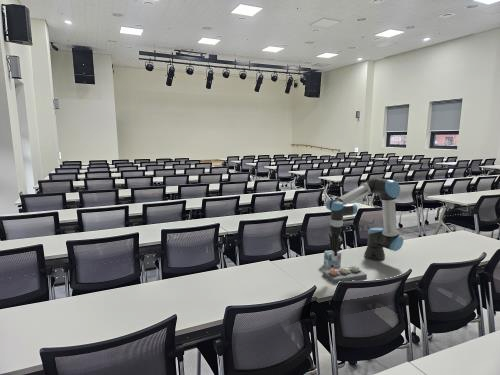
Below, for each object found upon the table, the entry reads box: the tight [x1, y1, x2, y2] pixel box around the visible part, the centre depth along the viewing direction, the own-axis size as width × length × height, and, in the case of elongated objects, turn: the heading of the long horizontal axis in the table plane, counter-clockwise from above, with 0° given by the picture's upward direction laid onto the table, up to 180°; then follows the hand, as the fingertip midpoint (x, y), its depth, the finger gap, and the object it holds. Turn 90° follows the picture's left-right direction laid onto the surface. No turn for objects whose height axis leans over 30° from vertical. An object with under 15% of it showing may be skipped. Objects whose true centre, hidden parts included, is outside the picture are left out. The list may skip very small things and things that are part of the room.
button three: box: [329, 268, 338, 276], centre depth 217 cm, size 5×5×3 cm
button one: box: [351, 264, 360, 273], centre depth 223 cm, size 5×5×3 cm
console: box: [322, 266, 368, 285], centre depth 220 cm, size 25×14×3 cm, turn 109°
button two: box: [340, 266, 349, 274], centre depth 220 cm, size 5×5×3 cm
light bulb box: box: [323, 249, 342, 269], centre depth 238 cm, size 11×7×11 cm, turn 105°
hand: (334, 260), depth 216 cm, fingers closed
